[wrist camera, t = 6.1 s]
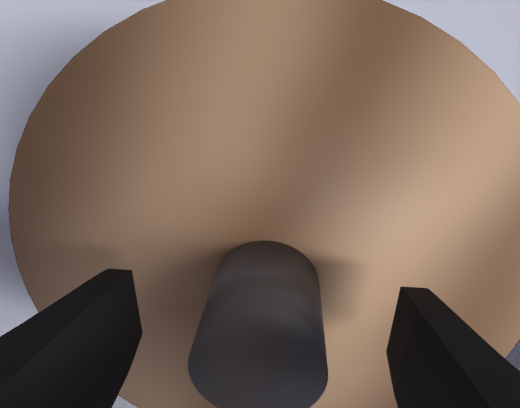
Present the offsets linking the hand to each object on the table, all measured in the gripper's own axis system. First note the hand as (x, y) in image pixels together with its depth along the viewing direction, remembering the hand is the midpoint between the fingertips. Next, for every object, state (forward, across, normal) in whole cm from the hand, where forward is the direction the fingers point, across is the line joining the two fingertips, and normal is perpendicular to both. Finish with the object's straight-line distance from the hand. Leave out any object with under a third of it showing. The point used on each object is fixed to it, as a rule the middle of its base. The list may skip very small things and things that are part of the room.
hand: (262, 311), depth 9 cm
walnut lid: (+2, 0, 0) cm, 2 cm away
